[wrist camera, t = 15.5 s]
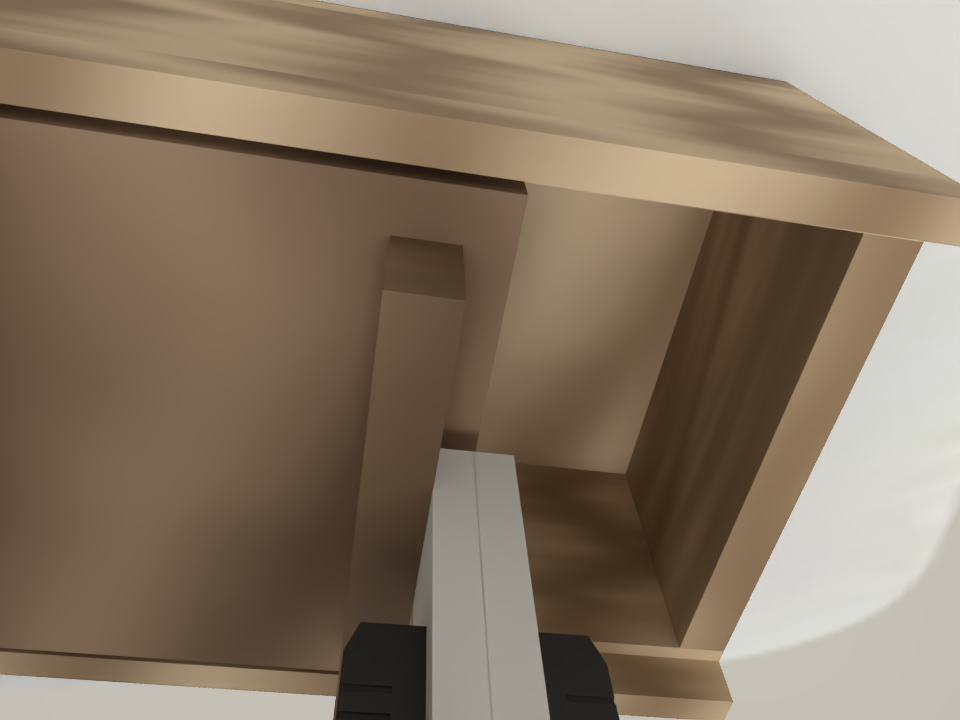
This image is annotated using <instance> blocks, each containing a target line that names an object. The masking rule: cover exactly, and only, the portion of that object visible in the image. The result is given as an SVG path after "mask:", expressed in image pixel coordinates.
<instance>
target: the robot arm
mask: <svg viewBox="0 0 960 720" xmlns="http://www.w3.org/2000/svg"><path fill="white" fill-rule="evenodd" d="M614 698H615V697H614V693H613V688H612V684H611V679H610V675H609V670H608V665H607V664H606V662H605V661H604V659H603V658H602V656H601V654H600V653H599V651H598V650H597V648H596V647H595V645H594V644H593V642H592V641H591V639H590V638H589V636H585V635H571V634H556V633H542V632H538V627H537V620H536V613H535V606H534V598H533V591H532V584H531V577H530V569H529V562H528V555H527V547H526V540H525V533H524V526H523V518H522V511H521V504H520V497H519V489H518V482H517V475H516V467H515V460H514V455H504V454H494V453H484V452H474V451H463V450H453V449H443V448H440V453H439V459H438V465H437V470H436V476H435V482H434V487H433V491H432V497H431V503H430V509H429V515H428V521H427V526H426V532H425V538H424V544H423V550H422V555H421V561H420V567H419V572H418V578H417V584H416V589H415V595H414V606H413V625H400V624H385V623H371V622H360V624H359V625H358V627H357V629H356V630H355V632H354V634H353V635H352V637H351V638H350V640H349V642H348V643H347V645H346V646H345V648H344V650H343V658H342V666H341V675H340V683H339V692H338V701H337V709H336V718H335V720H619V716H618V711H617V706H616V704H615V703H614Z"/></svg>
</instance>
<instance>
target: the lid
mask: <svg viewBox="0 0 960 720" xmlns="http://www.w3.org/2000/svg"><path fill="white" fill-rule="evenodd" d="M527 199H528V193H527V189H526V186H525V182H524V181H518V180H511V179H504V178H498V177H491V176H484V175H478V174H471V173H464V172H457V171H451V170H444V169H437V168H431V167H424V166H417V165H411V164H404V163H397V162H390V161H384V160H377V159H370V158H364V157H357V156H350V155H344V154H337V153H330V152H323V151H317V150H310V149H303V148H297V147H290V146H283V145H277V144H270V143H263V142H256V141H250V140H243V139H236V138H230V137H223V136H216V135H210V134H203V133H196V132H190V131H183V130H176V129H169V128H163V127H156V126H149V125H143V124H136V123H129V122H123V121H116V120H109V119H102V118H96V117H89V116H82V115H76V114H69V113H62V112H56V111H49V110H42V109H35V108H29V107H22V106H15V105H9V104H2V103H0V648H12V649H26V650H41V651H55V652H69V653H84V654H98V655H113V656H127V657H142V658H156V659H170V660H185V661H199V662H214V663H228V664H243V665H257V666H271V667H286V668H300V669H315V670H329V671H339V674H338V683H337V692H336V700H335V710H334V718H333V720H335V718H336V709H337V701H338V692H339V683H340V675H341V666H342V658H343V650H344V648H345V646H346V645H347V643H348V642H349V640H350V638H351V637H352V635H353V634H354V632H355V630H356V629H357V627H358V625H359V624H360V622H371V623H385V624H400V625H413V606H414V595H415V589H416V584H417V578H418V572H419V567H420V561H421V555H422V550H423V544H424V538H425V532H426V526H427V521H428V515H429V509H430V503H431V497H432V491H433V487H434V482H435V476H436V470H437V465H438V459H439V453H440V448H443V449H453V450H463V451H474V452H476V447H477V442H478V437H479V432H480V427H481V422H482V418H483V413H484V408H485V403H486V398H487V393H488V388H489V384H490V379H491V374H492V369H493V364H494V359H495V354H496V350H497V345H498V340H499V335H500V330H501V325H502V320H503V316H504V311H505V306H506V301H507V296H508V291H509V286H510V282H511V277H512V272H513V267H514V262H515V257H516V252H517V248H518V243H519V238H520V233H521V228H522V223H523V218H524V214H525V209H526V204H527Z"/></svg>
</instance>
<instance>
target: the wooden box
mask: <svg viewBox="0 0 960 720" xmlns="http://www.w3.org/2000/svg"><path fill="white" fill-rule="evenodd" d="M0 103H2V104H9V105H15V106H22V107H29V108H35V109H42V110H49V111H56V112H62V113H69V114H76V115H82V116H89V117H96V118H102V119H109V120H116V121H123V122H129V123H136V124H143V125H149V126H156V127H163V128H169V129H176V130H183V131H190V132H196V133H203V134H210V135H216V136H223V137H230V138H236V139H243V140H250V141H256V142H263V143H270V144H277V145H283V146H290V147H297V148H303V149H310V150H317V151H323V152H330V153H337V154H344V155H350V156H357V157H364V158H370V159H377V160H384V161H390V162H397V163H404V164H411V165H417V166H424V167H431V168H437V169H444V170H451V171H457V172H464V173H471V174H478V175H484V176H491V177H498V178H504V179H511V180H518V181H524V182H525V186H526V189H527V193H528V199H527V204H526V209H525V214H524V218H523V223H522V228H521V233H520V238H519V243H518V248H517V252H516V257H515V262H514V267H513V272H512V277H511V282H510V286H509V291H508V296H507V301H506V306H505V311H504V316H503V320H502V325H501V330H500V335H499V340H498V345H497V350H496V354H495V359H494V364H493V369H492V374H491V379H490V384H489V388H488V393H487V398H486V403H485V408H484V413H483V418H482V422H481V427H480V432H479V437H478V442H477V447H476V452H484V453H494V454H504V455H514V460H515V467H516V475H517V482H518V489H519V497H520V504H521V511H522V518H523V526H524V533H525V540H526V547H527V555H528V562H529V569H530V577H531V584H532V591H533V598H534V606H535V613H536V620H537V627H538V632H542V633H556V634H571V635H585V636H589V638H590V639H591V641H592V642H593V644H594V645H595V647H596V648H597V650H598V651H599V653H600V654H601V656H602V658H603V659H604V661H605V662H606V664H607V665H608V670H609V675H610V679H611V684H612V688H613V693H614V697H615V698H614V703H615V704H616V706H617V711H618V715H631V716H647V717H662V718H677V719H692V720H693V719H694V720H724V718H725V716H726V715H727V713H728V711H729V709H730V707H731V705H732V703H733V700H732V698H731V695H730V692H729V689H728V687H727V684H726V681H725V678H724V675H723V672H722V670H721V667H720V664H719V660H720V658H721V656H722V654H723V652H724V649H725V647H726V645H727V643H728V641H729V639H730V637H731V635H732V633H733V631H734V629H735V627H736V625H737V623H738V621H739V619H740V617H741V615H742V613H743V611H744V609H745V606H746V604H747V602H748V600H749V598H750V596H751V594H752V592H753V590H754V588H755V586H756V584H757V582H758V580H759V578H760V576H761V574H762V572H763V570H764V568H765V566H766V564H767V561H768V559H769V557H770V555H771V553H772V551H773V549H774V547H775V545H776V543H777V541H778V539H779V537H780V535H781V533H782V531H783V529H784V527H785V525H786V523H787V521H788V518H789V516H790V514H791V512H792V510H793V508H794V506H795V504H796V502H797V500H798V498H799V496H800V494H801V492H802V490H803V488H804V486H805V484H806V482H807V480H808V478H809V476H810V473H811V471H812V469H813V467H814V465H815V463H816V461H817V459H818V457H819V455H820V453H821V451H822V449H823V447H824V445H825V443H826V441H827V439H828V437H829V435H830V433H831V430H832V428H833V426H834V424H835V422H836V420H837V418H838V416H839V414H840V412H841V410H842V408H843V406H844V404H845V402H846V400H847V398H848V396H849V394H850V392H851V390H852V388H853V385H854V383H855V381H856V379H857V377H858V375H859V373H860V371H861V369H862V367H863V365H864V363H865V361H866V359H867V357H868V355H869V353H870V351H871V349H872V347H873V345H874V343H875V340H876V338H877V336H878V334H879V332H880V330H881V328H882V326H883V324H884V322H885V320H886V318H887V316H888V314H889V312H890V310H891V308H892V306H893V304H894V302H895V300H896V297H897V295H898V293H899V291H900V289H901V287H902V285H903V283H904V281H905V279H906V277H907V275H908V273H909V271H910V269H911V267H912V265H913V263H914V261H915V259H916V257H917V255H918V252H919V250H920V248H921V246H922V244H923V242H924V241H926V242H933V243H940V244H946V245H953V246H960V184H959V183H958V182H956V181H954V180H953V179H951V178H949V177H947V176H946V175H944V174H942V173H941V172H939V171H937V170H935V169H934V168H932V167H930V166H929V165H927V164H925V163H924V162H922V161H920V160H918V159H917V158H915V157H913V156H912V155H910V154H908V153H906V152H905V151H903V150H901V149H900V148H898V147H896V146H895V145H893V144H891V143H889V142H888V141H886V140H884V139H883V138H881V137H879V136H877V135H876V134H874V133H872V132H871V131H869V130H867V129H866V128H864V127H862V126H860V125H859V124H857V123H855V122H854V121H852V120H850V119H849V118H847V117H845V116H843V115H842V114H840V113H838V112H837V111H835V110H833V109H831V108H830V107H828V106H826V105H825V104H823V103H821V102H820V101H818V100H816V99H814V98H813V97H811V96H809V95H808V94H806V93H804V92H802V91H801V90H799V89H797V88H796V87H794V86H792V85H791V84H789V83H787V82H784V81H778V80H772V79H766V78H761V77H755V76H749V75H743V74H737V73H732V72H726V71H720V70H714V69H708V68H703V67H697V66H691V65H685V64H679V63H674V62H668V61H662V60H656V59H650V58H645V57H639V56H633V55H627V54H621V53H616V52H610V51H604V50H598V49H592V48H587V47H581V46H575V45H569V44H563V43H558V42H552V41H546V40H540V39H534V38H529V37H523V36H517V35H511V34H505V33H500V32H494V31H488V30H482V29H476V28H471V27H465V26H459V25H453V24H447V23H441V22H436V21H430V20H424V19H418V18H412V17H407V16H401V15H395V14H389V13H383V12H378V11H372V10H366V9H360V8H354V7H349V6H343V5H337V4H331V3H325V2H320V1H314V0H0ZM0 674H4V675H19V676H35V677H50V678H65V679H80V680H96V681H111V682H126V683H142V684H157V685H172V686H188V687H203V688H218V689H234V690H249V691H264V692H279V693H280V692H281V693H295V694H310V695H325V696H336V692H337V683H338V674H339V671H329V670H315V669H300V668H286V667H271V666H257V665H243V664H228V663H214V662H199V661H185V660H170V659H156V658H142V657H127V656H113V655H98V654H84V653H69V652H55V651H41V650H26V649H12V648H0Z"/></svg>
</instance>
